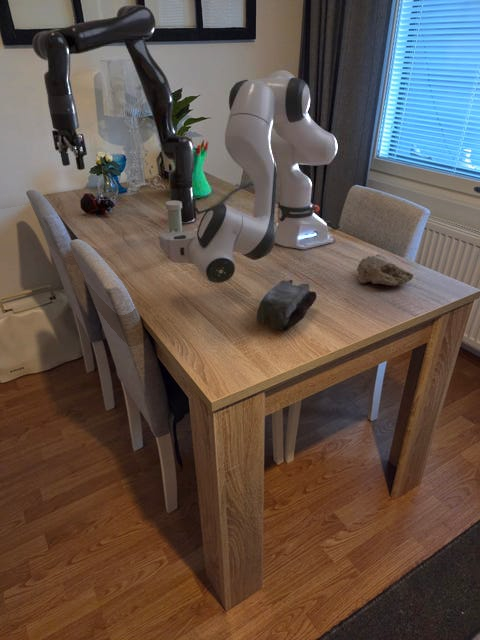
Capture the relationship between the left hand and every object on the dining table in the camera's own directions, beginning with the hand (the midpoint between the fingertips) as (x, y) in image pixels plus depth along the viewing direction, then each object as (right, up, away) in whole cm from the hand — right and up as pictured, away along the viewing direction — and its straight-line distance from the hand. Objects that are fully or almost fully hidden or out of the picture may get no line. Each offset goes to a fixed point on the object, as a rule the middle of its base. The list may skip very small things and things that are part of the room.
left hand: (73, 167), depth 141 cm
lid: (+31, -11, +4) cm, 33 cm away
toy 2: (+29, +13, +76) cm, 82 cm away
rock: (+66, -48, -21) cm, 84 cm away
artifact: (+96, -35, -1) cm, 103 cm away
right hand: (+38, -22, -13) cm, 46 cm away
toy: (-8, -3, +50) cm, 51 cm away
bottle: (+31, -26, +13) cm, 43 cm away
